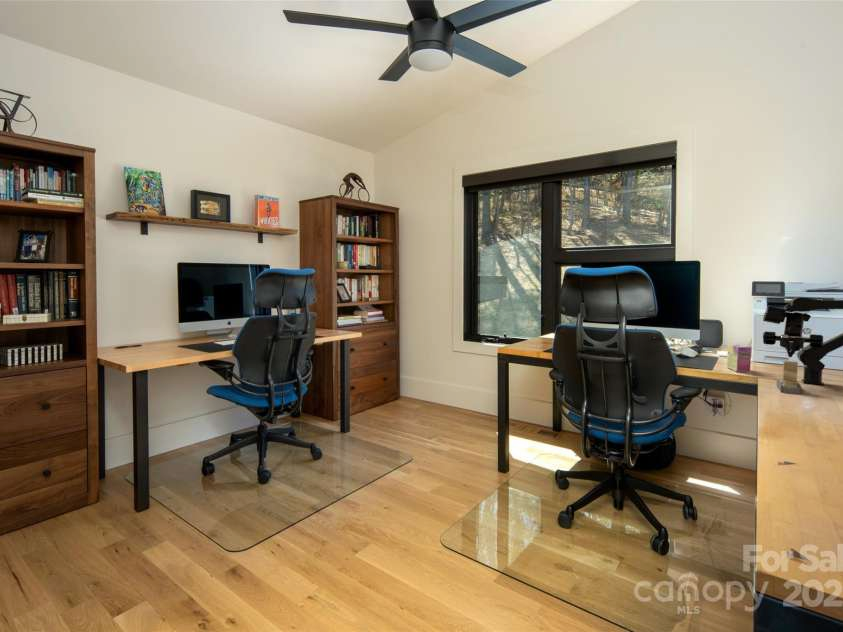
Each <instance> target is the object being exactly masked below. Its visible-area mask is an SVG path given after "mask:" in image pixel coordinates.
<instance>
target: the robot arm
mask: <svg viewBox="0 0 843 632" xmlns="http://www.w3.org/2000/svg"><path fill="white" fill-rule="evenodd" d="M817 310H843V299H818V298H817V299H816V298H809V297H804V296H803V297H802V296H795V297H793V298H792V299H791V300H790V301H789V304H787V305H786V306H784V307H783V308H781V307H775V306H772V305H768V306H767V307H766V310H765V312H764V314H763V317H762V321H763V322H767V323H772V324H776V325H780V324H781V323H784V322H785V325H784V332H783V334H780V335H776V334H777V333H776V331H767V330H766V331H764V332H763V333H762V341H763V342H762V343H763V344H764V345H770V346H773V345H775V344H776V342H779V346H780V347H782V348H784V349H785V351H786V353H787V356H788V358H792V357H793V356H794V354H795V353H796V352H797V353H796V357H797V360H799V362H800V363H802V365H803V366H804V367H803V377H802V379H800V381H801V382H802V383H803V384H808V385H809V384H810V385H821V386H822V385H823V386H825V383H824V382H823V370H824V368H825V367H826V365H825V364H824V362H822V361H821V360H822V359H824V357H826V356H827V355H828V354H830V353H832V352H833V351H835V350H837V349H839V348H841V347H843V332H842V333H840V334H837V336H834V337H833V338H830V339H828V340H826V341H824V336H823V335H822V334H814V333H813V334H809V337H807V336H803V331H804V329H803V328H804V322H809V320H810V319H811V317H812V316H811V315H810V314H808V313H807V312H809V311H817ZM803 312H804V313H803ZM805 343H807V344H808V345H806V346H804V345H805Z"/></svg>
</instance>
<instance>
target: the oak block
mask: <svg viewBox="0 0 843 632" xmlns="http://www.w3.org/2000/svg"><path fill="white" fill-rule="evenodd" d="M798 363H799V362H797V361H793V360H792V361H791V360H783V362H782V381H781V382H782V384H783V385H784V386H791V387H798V383H799V381H798V367H799V366H798V365H799V364H798Z"/></svg>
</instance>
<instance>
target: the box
mask: <svg viewBox="0 0 843 632" xmlns="http://www.w3.org/2000/svg"><path fill="white" fill-rule="evenodd" d="M726 359H727V360H726V368H727V367H728V368H730V369H729V370H731V369H732V370H731V371H733V370H734V372H735V371H737V372H736V373H742V372H750V373H751V365H752V363H751V361H752V346H751V347H750V346H748V345H745V344H740V343H727V355H726ZM728 368H727V369H728Z"/></svg>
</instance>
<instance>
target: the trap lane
mask: <svg viewBox="0 0 843 632" xmlns="http://www.w3.org/2000/svg"><path fill="white" fill-rule="evenodd" d="M782 382H783V381H781V380H780V379H779V378H776V387H777V388H778V390H779V392H780V393H783V394H784V393H785V394H795V395H802V389H803V387H802V385H801V384H800V383H799V382H798V387H791V386H784V385H783V384H782Z"/></svg>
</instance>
